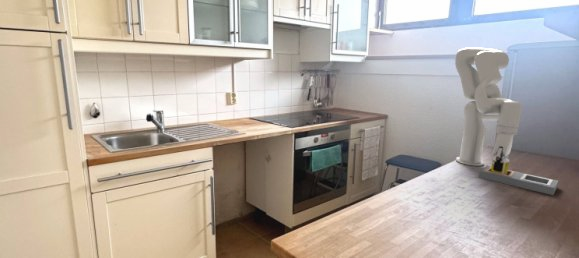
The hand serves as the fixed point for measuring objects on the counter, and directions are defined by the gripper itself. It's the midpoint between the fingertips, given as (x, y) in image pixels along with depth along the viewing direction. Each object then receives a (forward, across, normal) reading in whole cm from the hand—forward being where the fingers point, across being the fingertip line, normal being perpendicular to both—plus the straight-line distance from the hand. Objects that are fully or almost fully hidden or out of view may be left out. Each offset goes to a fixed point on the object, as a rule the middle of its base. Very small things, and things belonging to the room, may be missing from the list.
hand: (499, 168), depth 141 cm
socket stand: (+4, 0, +7) cm, 8 cm away
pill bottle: (+4, 0, 0) cm, 4 cm away
